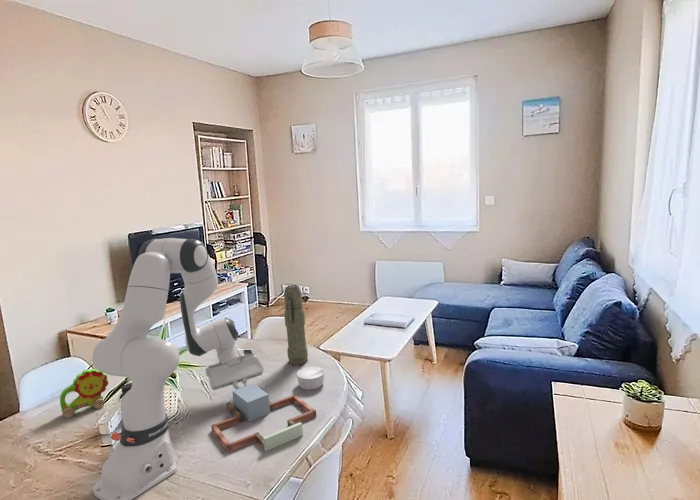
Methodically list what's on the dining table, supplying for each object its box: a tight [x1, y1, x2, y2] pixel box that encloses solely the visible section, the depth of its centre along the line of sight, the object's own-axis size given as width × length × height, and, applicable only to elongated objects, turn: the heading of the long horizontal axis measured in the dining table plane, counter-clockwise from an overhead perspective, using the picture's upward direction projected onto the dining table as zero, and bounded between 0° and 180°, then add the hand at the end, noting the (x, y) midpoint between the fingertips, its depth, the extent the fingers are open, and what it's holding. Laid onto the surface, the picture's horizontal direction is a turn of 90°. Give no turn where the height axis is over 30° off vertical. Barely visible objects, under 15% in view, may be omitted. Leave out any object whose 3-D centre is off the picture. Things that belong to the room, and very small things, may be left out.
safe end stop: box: [262, 422, 304, 452], centre depth 135 cm, size 1×13×4 cm, turn 125°
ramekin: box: [296, 366, 326, 391], centre depth 172 cm, size 11×11×5 cm
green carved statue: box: [283, 284, 309, 366], centre depth 193 cm, size 9×12×35 cm
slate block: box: [232, 383, 271, 422], centre depth 155 cm, size 12×8×7 cm, turn 40°
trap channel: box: [211, 394, 317, 454], centre depth 148 cm, size 32×31×2 cm
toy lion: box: [59, 368, 109, 419], centre depth 162 cm, size 16×5×15 cm, turn 126°
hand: (243, 392), depth 160 cm, fingers closed
